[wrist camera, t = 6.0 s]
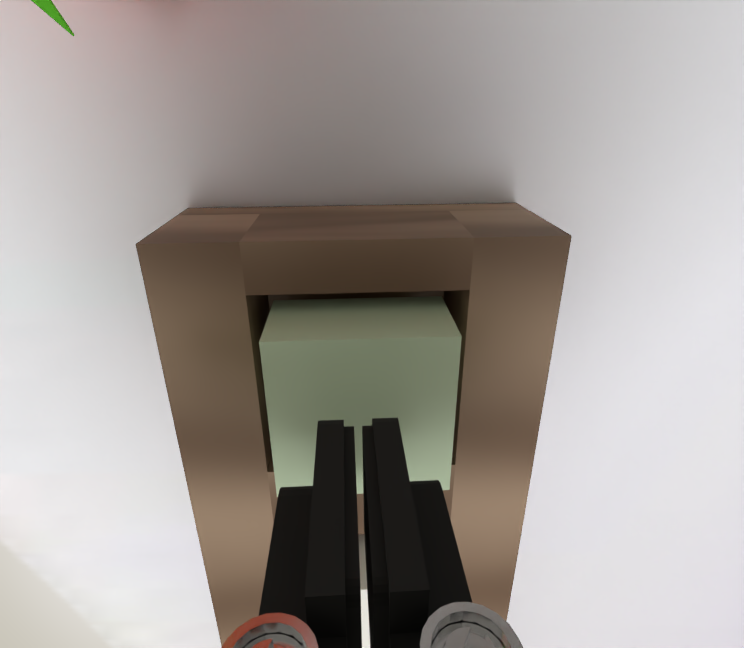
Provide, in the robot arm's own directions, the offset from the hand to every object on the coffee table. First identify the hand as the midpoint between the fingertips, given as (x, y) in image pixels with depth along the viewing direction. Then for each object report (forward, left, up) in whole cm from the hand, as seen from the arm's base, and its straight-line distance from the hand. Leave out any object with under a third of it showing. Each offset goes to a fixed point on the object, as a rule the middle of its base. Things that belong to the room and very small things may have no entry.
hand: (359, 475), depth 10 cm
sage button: (0, 0, -4) cm, 4 cm away
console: (+8, 0, -7) cm, 10 cm away
